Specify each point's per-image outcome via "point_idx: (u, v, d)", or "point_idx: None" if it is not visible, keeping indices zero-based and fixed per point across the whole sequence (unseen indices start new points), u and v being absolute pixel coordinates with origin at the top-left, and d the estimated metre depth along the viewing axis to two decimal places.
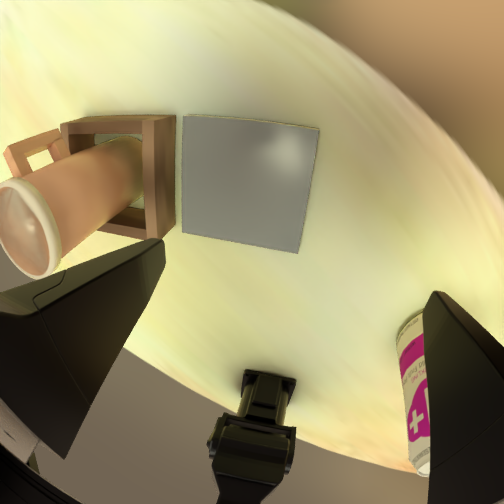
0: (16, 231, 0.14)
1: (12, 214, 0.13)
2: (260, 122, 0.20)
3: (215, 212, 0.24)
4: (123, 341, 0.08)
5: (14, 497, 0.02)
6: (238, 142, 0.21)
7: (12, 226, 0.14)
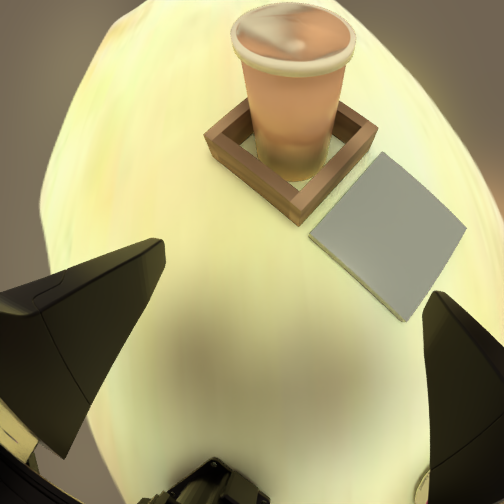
0: (292, 27, 0.12)
1: (305, 19, 0.12)
2: (433, 196, 0.22)
3: (359, 236, 0.22)
4: (124, 341, 0.08)
5: (14, 497, 0.02)
6: (412, 197, 0.22)
7: (290, 22, 0.12)
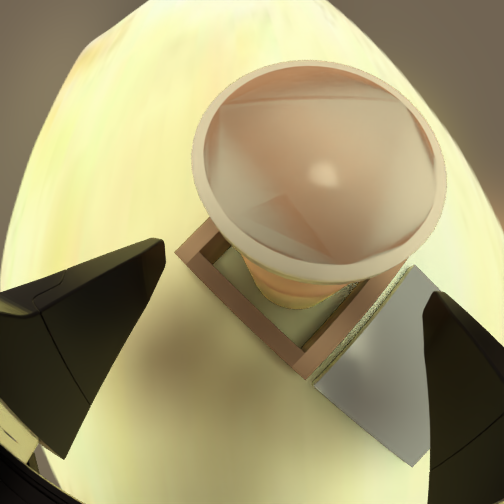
0: (324, 136, 0.07)
1: (350, 114, 0.07)
2: None
3: (373, 387, 0.16)
4: (123, 341, 0.08)
5: (14, 497, 0.02)
6: None
7: (320, 123, 0.07)
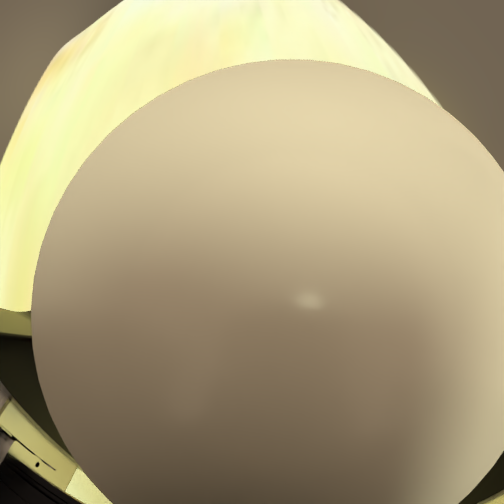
0: (301, 290, 0.03)
1: (379, 206, 0.03)
2: None
3: None
4: None
5: (14, 497, 0.02)
6: None
7: (297, 243, 0.03)
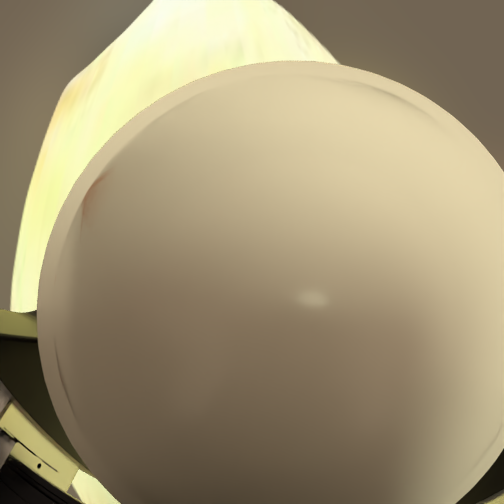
0: (312, 287, 0.03)
1: (385, 207, 0.03)
2: None
3: None
4: None
5: (14, 497, 0.02)
6: None
7: (305, 241, 0.03)
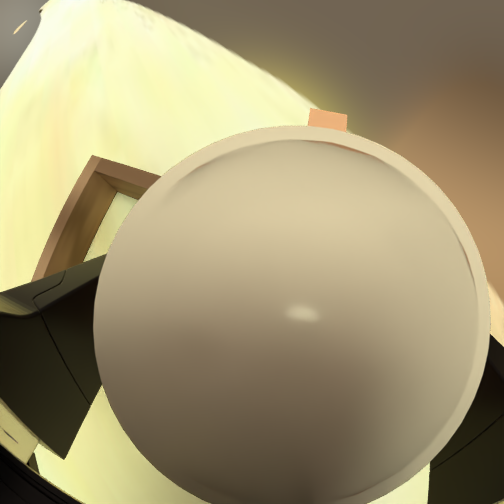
0: (301, 312, 0.04)
1: (355, 254, 0.04)
2: None
3: None
4: None
5: (14, 497, 0.02)
6: None
7: (297, 280, 0.04)
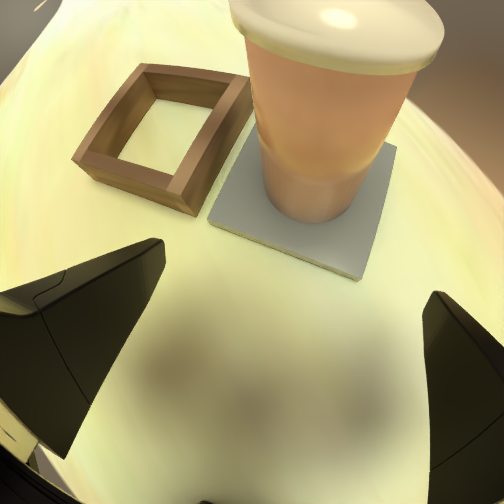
0: None
1: None
2: None
3: (265, 201, 0.18)
4: (123, 341, 0.08)
5: (14, 497, 0.02)
6: None
7: None
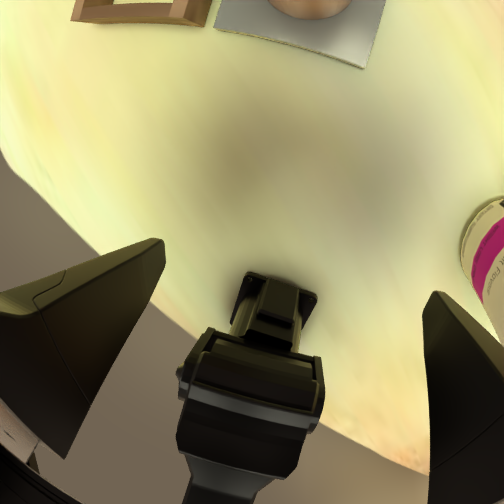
0: None
1: None
2: None
3: (266, 4, 0.14)
4: (123, 341, 0.08)
5: (14, 497, 0.02)
6: None
7: None
